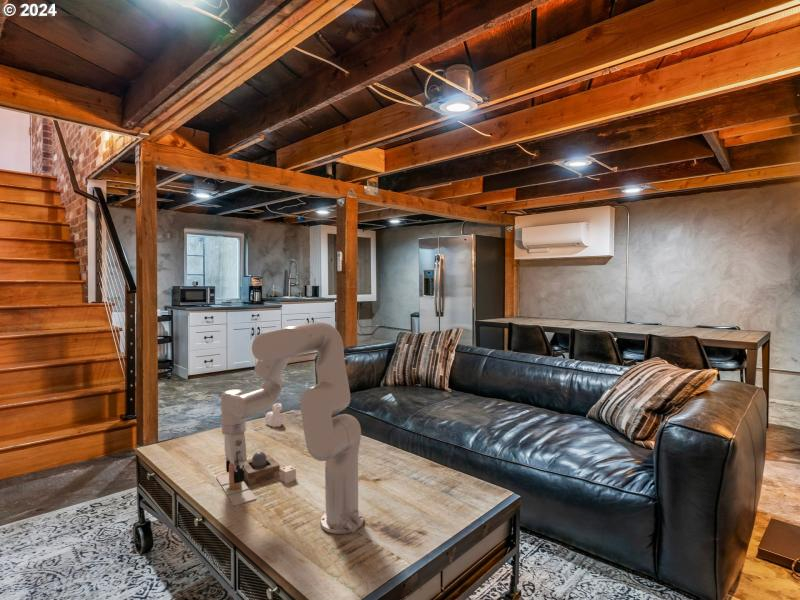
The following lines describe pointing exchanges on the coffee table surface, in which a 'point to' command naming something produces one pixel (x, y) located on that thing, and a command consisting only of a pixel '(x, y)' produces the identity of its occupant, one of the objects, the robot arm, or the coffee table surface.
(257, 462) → the dome
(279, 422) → the bust
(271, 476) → the frame
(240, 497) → the tile strip
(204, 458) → the coffee table surface
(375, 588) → the coffee table surface
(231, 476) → the brown rounded cylinder piece
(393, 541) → the coffee table surface
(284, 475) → the die
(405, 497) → the coffee table surface
